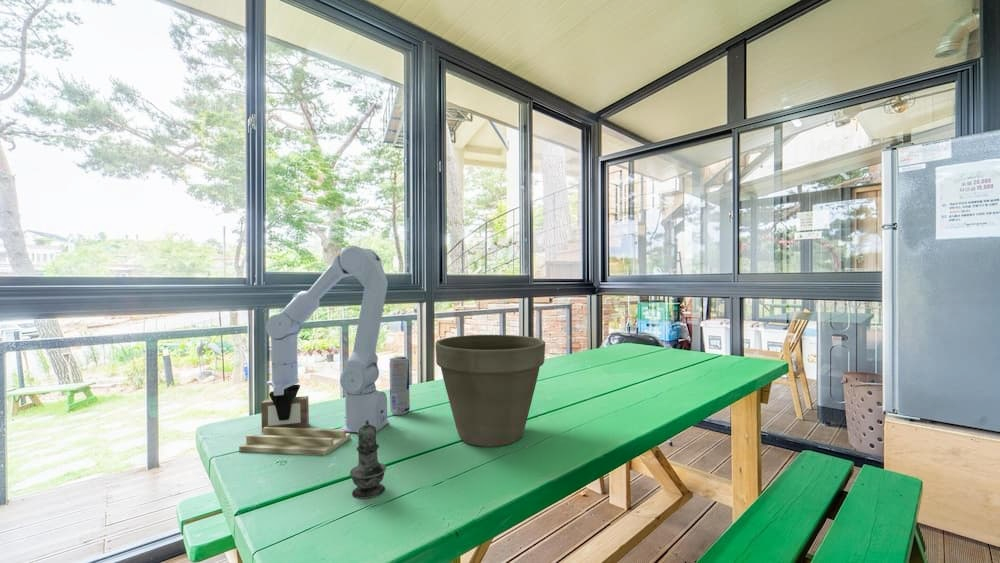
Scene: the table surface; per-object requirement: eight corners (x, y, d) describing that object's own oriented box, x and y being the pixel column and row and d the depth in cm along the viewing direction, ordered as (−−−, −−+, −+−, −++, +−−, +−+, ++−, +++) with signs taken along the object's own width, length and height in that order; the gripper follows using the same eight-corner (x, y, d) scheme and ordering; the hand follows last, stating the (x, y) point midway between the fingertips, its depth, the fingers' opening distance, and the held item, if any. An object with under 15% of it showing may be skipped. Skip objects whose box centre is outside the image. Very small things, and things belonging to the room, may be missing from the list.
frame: (308, 423, 108) (308, 395, 108) (306, 427, 105) (306, 398, 105) (265, 427, 105) (264, 399, 105) (261, 431, 102) (261, 402, 102)
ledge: (350, 437, 97) (350, 426, 97) (325, 455, 87) (325, 443, 87) (271, 434, 100) (271, 423, 100) (239, 451, 90) (239, 439, 90)
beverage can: (412, 410, 117) (411, 356, 117) (406, 416, 112) (405, 359, 112) (394, 410, 118) (393, 356, 118) (387, 415, 113) (386, 359, 113)
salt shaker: (355, 484, 74) (353, 415, 74) (389, 482, 75) (388, 413, 75) (345, 501, 68) (344, 426, 68) (383, 498, 69) (381, 424, 69)
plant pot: (569, 433, 97) (567, 338, 97) (494, 469, 79) (492, 352, 79) (490, 412, 114) (489, 331, 114) (414, 437, 96) (412, 342, 96)
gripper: (274, 359, 111) (275, 410, 111) (258, 369, 97) (259, 428, 97) (303, 357, 113) (304, 408, 113) (292, 367, 99) (293, 425, 99)
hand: (285, 417), depth 105 cm, fingers closed on frame, 3 cm apart
